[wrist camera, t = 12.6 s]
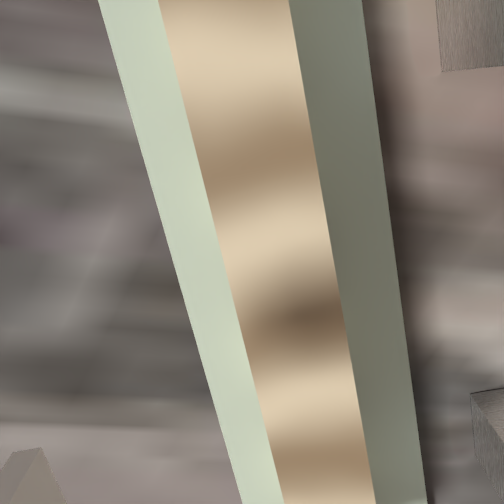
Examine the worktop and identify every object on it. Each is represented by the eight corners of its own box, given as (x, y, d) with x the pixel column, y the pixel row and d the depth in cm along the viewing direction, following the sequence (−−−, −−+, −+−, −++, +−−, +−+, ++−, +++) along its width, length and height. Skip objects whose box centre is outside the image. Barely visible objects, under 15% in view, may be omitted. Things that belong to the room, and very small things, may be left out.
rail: (166, -32, 18) (141, -64, 14) (269, -58, 18) (271, -98, 14) (299, 520, 27) (306, 590, 23) (370, 509, 27) (389, 579, 23)
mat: (83, -68, 18) (77, -73, 18) (339, -136, 18) (342, -144, 17) (257, 544, 28) (257, 553, 28) (427, 519, 27) (430, 528, 27)
